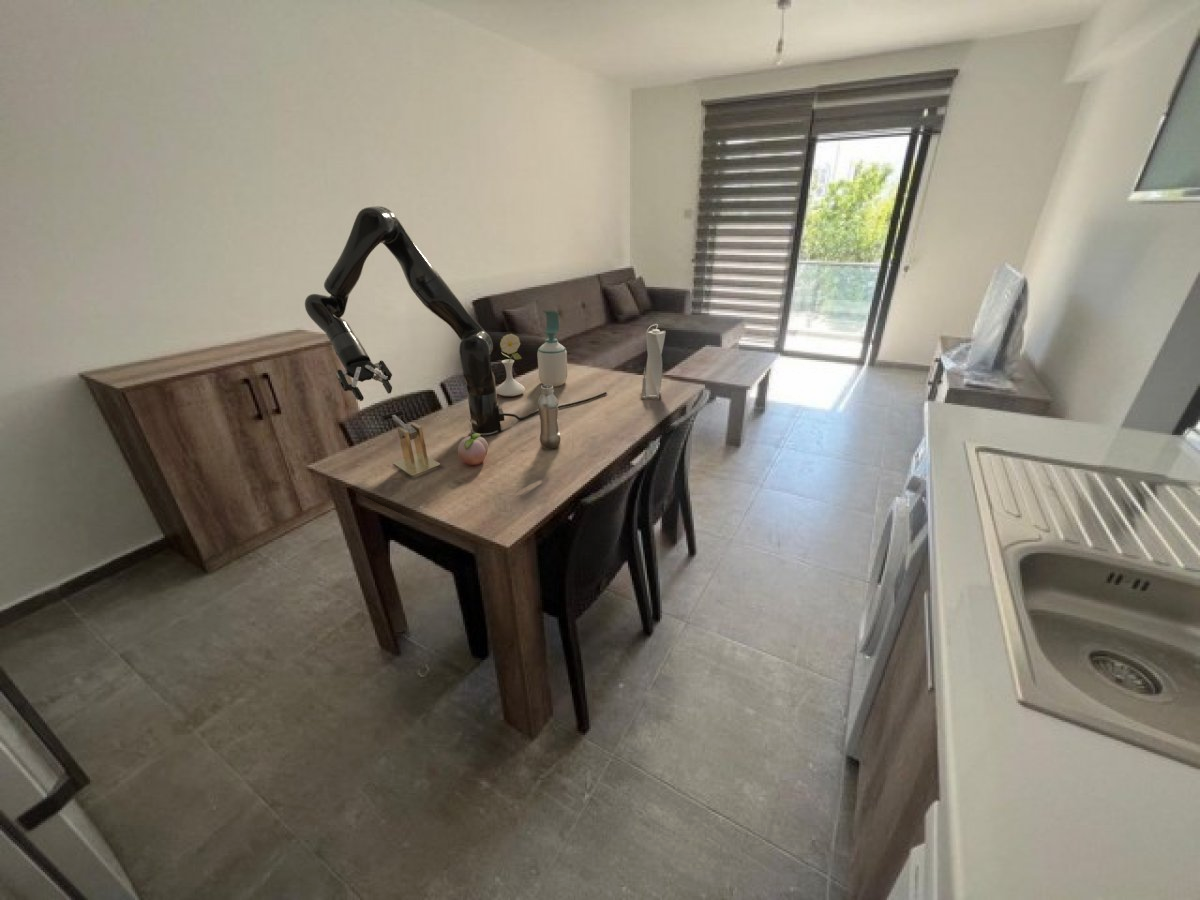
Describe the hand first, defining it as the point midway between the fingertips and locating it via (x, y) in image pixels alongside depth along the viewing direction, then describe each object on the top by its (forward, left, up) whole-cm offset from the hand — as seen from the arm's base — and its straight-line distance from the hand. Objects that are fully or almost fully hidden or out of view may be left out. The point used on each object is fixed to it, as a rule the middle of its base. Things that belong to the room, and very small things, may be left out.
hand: (376, 395), depth 142 cm
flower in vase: (-45, -38, -18) cm, 61 cm away
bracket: (-9, +15, -18) cm, 25 cm away
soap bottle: (-64, -46, -18) cm, 81 cm away
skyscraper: (-98, -18, -18) cm, 101 cm away
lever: (-6, +11, -7) cm, 15 cm away
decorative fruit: (-25, +19, -18) cm, 36 cm away
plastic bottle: (-49, +14, -18) cm, 54 cm away
